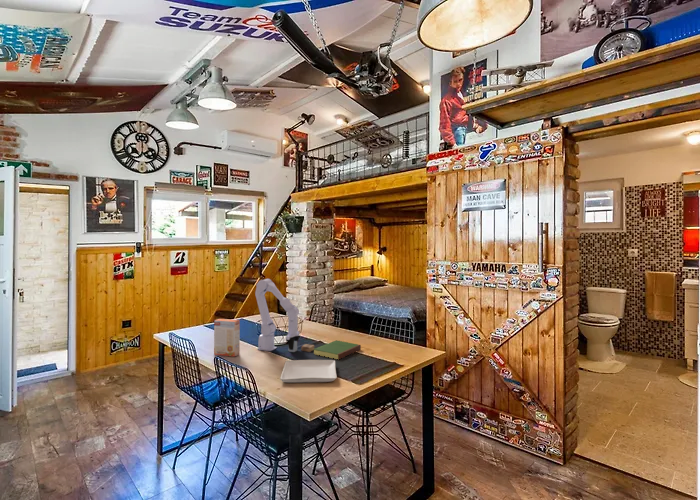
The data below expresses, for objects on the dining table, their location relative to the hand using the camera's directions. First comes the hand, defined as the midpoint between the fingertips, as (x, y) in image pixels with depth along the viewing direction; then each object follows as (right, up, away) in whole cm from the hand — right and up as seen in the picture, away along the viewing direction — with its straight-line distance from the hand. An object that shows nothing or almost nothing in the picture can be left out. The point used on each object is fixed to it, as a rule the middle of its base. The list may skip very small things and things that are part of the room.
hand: (292, 348), depth 236 cm
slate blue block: (0, -2, 0) cm, 2 cm away
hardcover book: (+28, -3, -1) cm, 28 cm away
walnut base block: (+9, -2, +2) cm, 10 cm away
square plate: (+15, -3, -41) cm, 43 cm away
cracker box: (-38, -1, -9) cm, 39 cm away
